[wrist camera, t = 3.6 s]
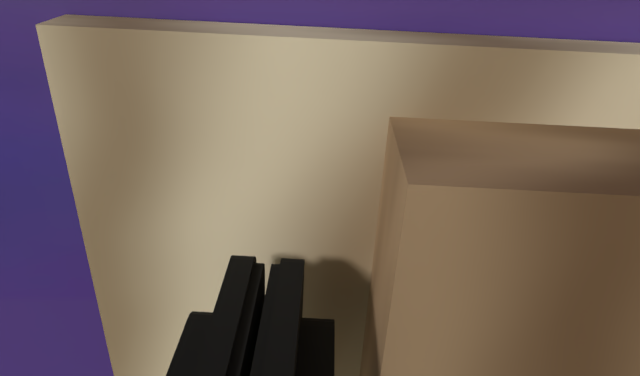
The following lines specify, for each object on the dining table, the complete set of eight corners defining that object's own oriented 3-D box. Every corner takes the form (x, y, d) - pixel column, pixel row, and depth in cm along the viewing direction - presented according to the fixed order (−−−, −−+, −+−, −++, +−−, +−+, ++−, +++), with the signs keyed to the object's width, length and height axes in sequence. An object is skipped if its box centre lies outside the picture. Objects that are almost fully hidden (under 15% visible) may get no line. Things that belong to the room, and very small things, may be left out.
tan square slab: (777, 136, 10) (934, 211, 7) (628, 421, 14) (694, 533, 12) (389, 116, 10) (408, 184, 8) (355, 407, 14) (360, 515, 12)
